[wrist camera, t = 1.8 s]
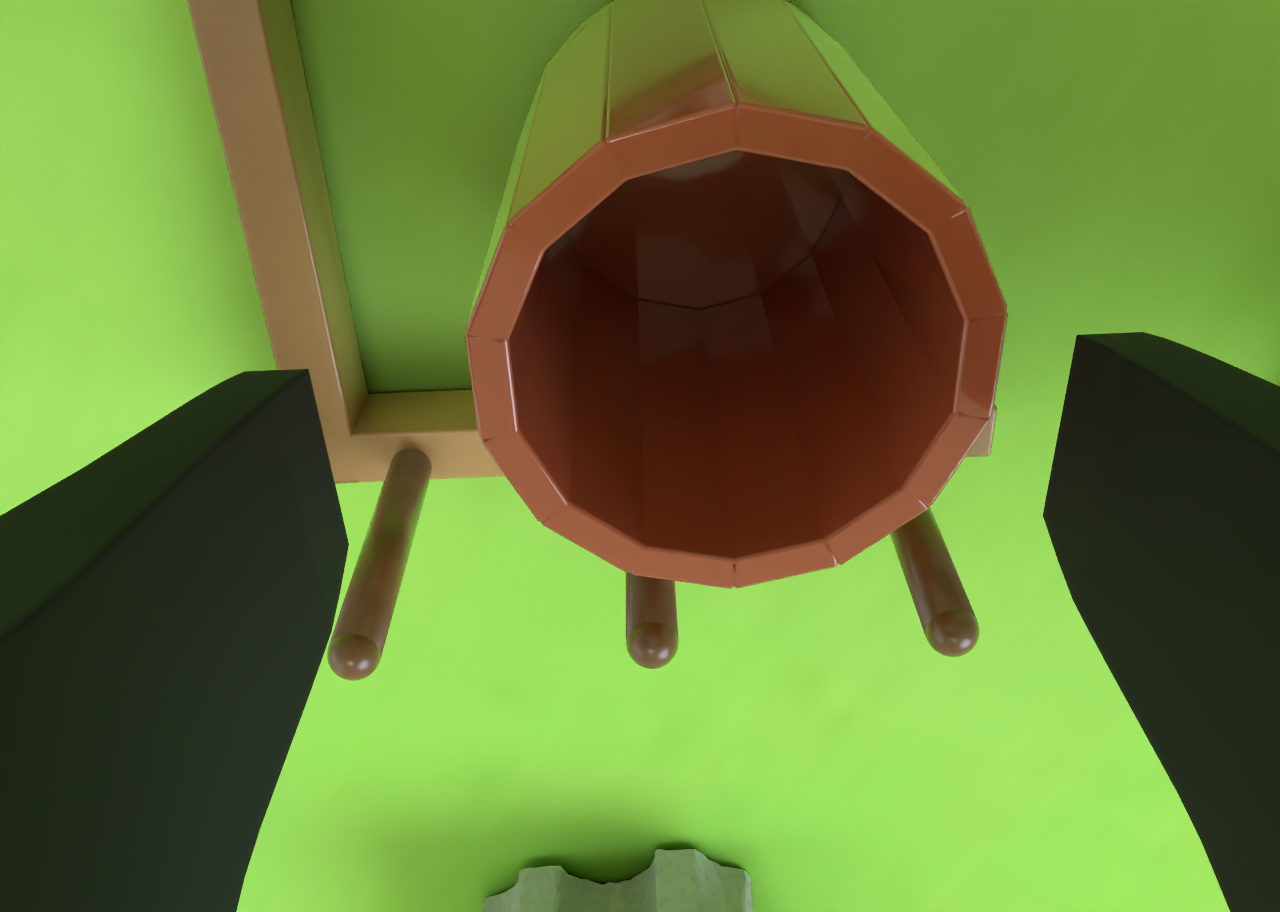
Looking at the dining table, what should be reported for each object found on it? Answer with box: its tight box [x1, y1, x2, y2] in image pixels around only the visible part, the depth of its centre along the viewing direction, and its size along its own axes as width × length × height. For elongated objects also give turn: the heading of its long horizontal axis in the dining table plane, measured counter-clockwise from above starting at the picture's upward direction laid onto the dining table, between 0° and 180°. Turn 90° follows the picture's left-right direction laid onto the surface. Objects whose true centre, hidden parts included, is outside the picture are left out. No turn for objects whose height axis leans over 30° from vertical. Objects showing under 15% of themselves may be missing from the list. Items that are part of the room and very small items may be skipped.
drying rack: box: [187, 0, 997, 680], centre depth 15 cm, size 12×10×7 cm
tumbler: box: [465, 0, 1008, 588], centre depth 14 cm, size 6×6×8 cm
